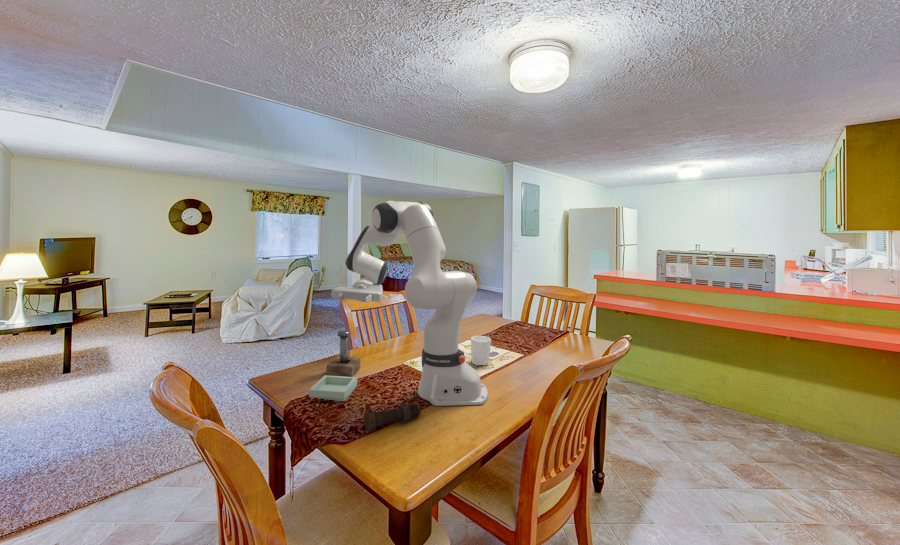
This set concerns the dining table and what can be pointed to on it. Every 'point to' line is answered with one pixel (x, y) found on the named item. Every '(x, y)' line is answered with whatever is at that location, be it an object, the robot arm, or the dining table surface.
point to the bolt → (390, 416)
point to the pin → (343, 345)
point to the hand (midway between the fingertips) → (352, 299)
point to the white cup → (480, 350)
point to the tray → (333, 388)
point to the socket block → (343, 367)
